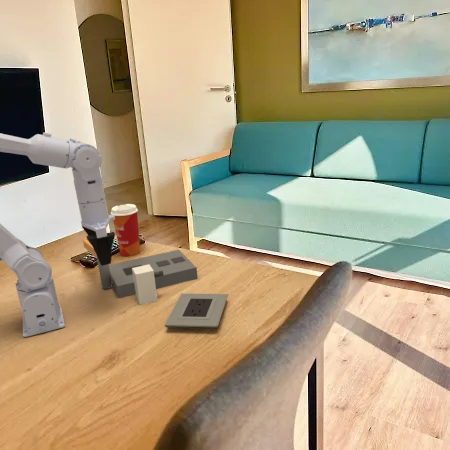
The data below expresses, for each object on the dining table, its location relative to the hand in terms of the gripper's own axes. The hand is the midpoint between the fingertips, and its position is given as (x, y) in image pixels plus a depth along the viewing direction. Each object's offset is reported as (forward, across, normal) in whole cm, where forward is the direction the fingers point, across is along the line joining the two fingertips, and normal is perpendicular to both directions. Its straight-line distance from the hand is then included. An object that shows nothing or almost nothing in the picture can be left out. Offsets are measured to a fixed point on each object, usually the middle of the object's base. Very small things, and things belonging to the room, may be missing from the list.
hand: (103, 258), depth 98 cm
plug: (+11, -4, -8) cm, 14 cm away
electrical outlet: (+11, -17, -15) cm, 26 cm away
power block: (+11, +7, -11) cm, 17 cm away
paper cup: (+11, +27, -10) cm, 31 cm away
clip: (+10, +12, +1) cm, 15 cm away
